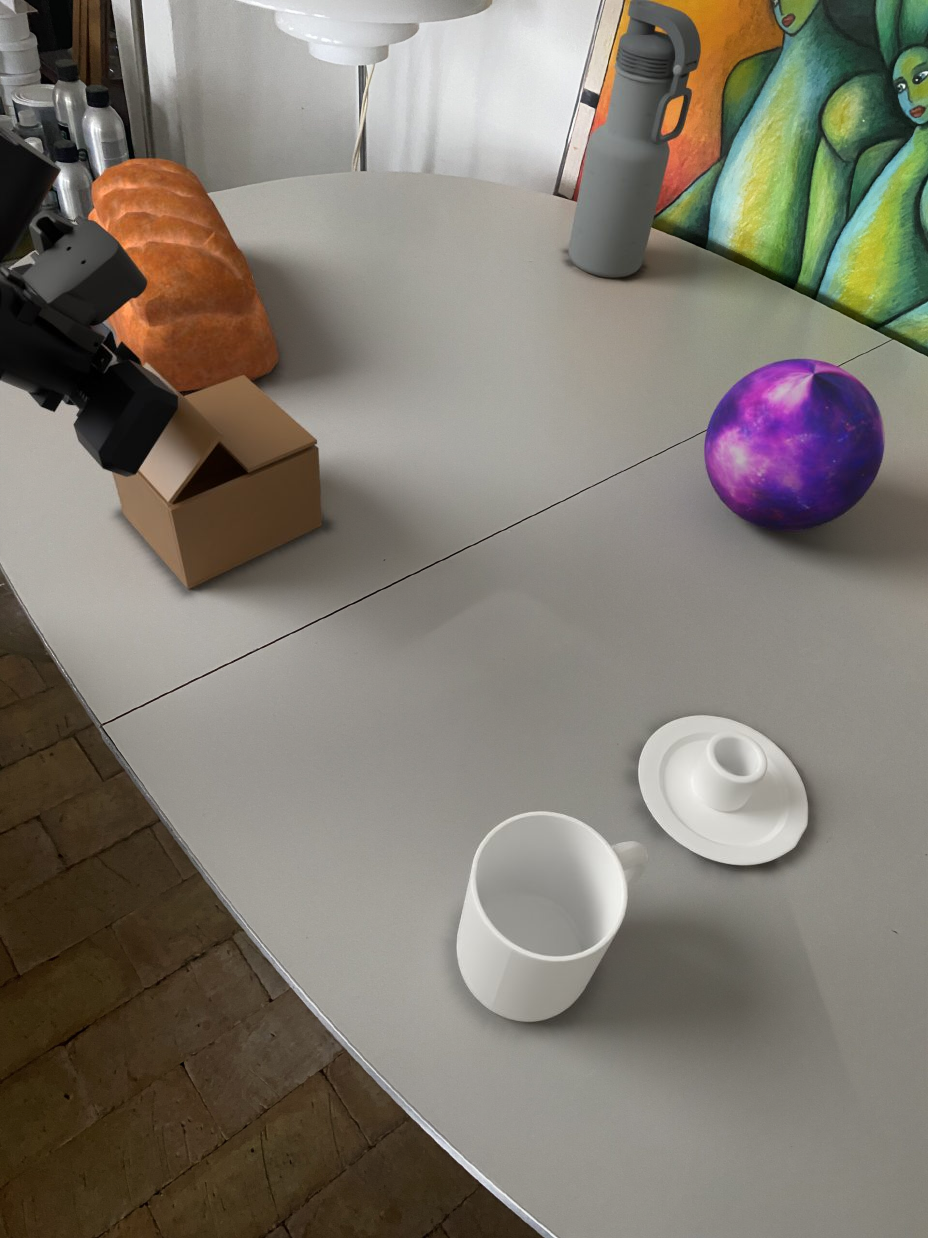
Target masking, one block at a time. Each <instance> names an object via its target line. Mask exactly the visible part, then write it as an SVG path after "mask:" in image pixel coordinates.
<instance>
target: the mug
mask: <svg viewBox="0 0 928 1238" xmlns="http://www.w3.org/2000/svg"><path fill="white" fill-rule="evenodd" d="M647 850H648V849H647V848H646V847H645V846H644V845H643V844H641V843H640V842H637V841H635V840H631V841H622V842H619V843H616V844H613V845H610V844H609V842H608V841H607V840H606V839H605V838H604V837H603V836H602V835H601V834H600V833H599V832H598V831H596V830H595V829H594V828H593V827H591V826H590V825H588V824H586V823H585V822H584V821H581V820H579V819H577V818H575V817H572V816H570V815H567V814H562V813H559V812H554V811H544V810H543V811H541V810H540V811H529V812H524V813H520V814H516V815H514V816H511V817H509V818H507V819H506V820H504V821H501V822H500V823H498V825H496V826H495V827H494V828H492V830H490V831H489V832H488V833H487V834H486V836H485V837H484V838H483V840H482V841H481V842H480V844H479V845H478V847H477V849H476V852H475V854H474V857H473V860H472V865H471V868H470V873H469V879H468V881H467V882H468V883H467V886H466V891H465V897H464V902H463V906H462V911H461V916H460V920H459V925H458V929H457V936H456V959H457V963H458V967H459V970H460V973H461V977H462V978H463V981H464V983H465V985H466V986H467V988H468V989H469V991H470V992H471V994H472V995H473V996H474V997H475V999H476V1000H478V1002H479V1003H480V1004H481V1005H483V1006H484V1007H485V1008H487V1010H490V1011H491V1012H493V1013H494V1014H496V1015H498V1016H500V1017H503V1018H505V1019H507V1020H511V1021H516V1022H524V1023H530V1022H531V1023H534V1022H540V1021H541V1022H542V1021H545V1020H548V1019H550V1018H554V1017H555V1016H558V1015H560V1014H562V1013H563V1012H564V1011H566V1010H567V1009H568V1008H570V1007H571V1006H572V1005H573V1004H574V1003H575V1002H576V1001H577V1000H578V999H579V997H580V996H581V995H582V994H583V992H584V991H585V989H586V987H587V986H588V984H589V982H590V981H591V979H592V977H593V975H594V973H595V972H596V970H597V968H598V966H599V964H600V963H601V961H602V959H603V957H604V956H605V955H606V952H607V951H608V949H609V947H610V945H611V944H612V942H613V940H614V938H615V936H616V935H617V933H618V931H619V929H620V927H621V926H622V924H623V921H624V918H625V916H626V912H627V907H628V897H629V893H628V892H629V891H630V890H631V888H633V887H634V886H635V884H636V883H637V882H638V880H639V879H640V878H641V877H642V875H643V874H644V873H645V870H646V869H647V866H648V863H649V853H648V851H647Z"/></svg>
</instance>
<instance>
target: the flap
mask: <svg viewBox="0 0 928 1238" xmlns="http://www.w3.org/2000/svg"><path fill="white" fill-rule="evenodd" d="M143 367H144V368H146V369H147V370H149V371H150V372H152V373H153V374H155V375H156V376H157V377H159V378H160V379H161V380H162V381H163V382H164V383H165V384H166V385H167V386H168V387H169V388H170V389H171V390H172V391H173V392H174V393H175V394H176V395H177V396H178V409H177V411H176V412H175V414H174V415H173V417H172V418H171V420H170V422H169V423H168V425H167V426H166V428H165V429H164V431H163V432H162V434H161V436H160V437H159V439H158V440H157V442H156V443H155V445H154V447H153V448H152V450H151V451H150V453H149V454H148V456H147V458H146V459H145V461H144V462H143V464H142V465H141V467H140V469H139V471H140V472H141V473H142V474H143V475H144V476H145V478H146V479H147V480H148V481H149V482H150V483H151V484H152V485H153V486H154V487H155V488H156V490H157V491H158V492H159V493H160V494H161V495H162V496H163V497H164V498H165V499H166V501H167V502H169V503H171V504H172V503H173V502H174V500H175V499H176V498H177V496H178V495H179V494H180V492H181V491H182V490H183V488H184V487H185V486H186V485H187V483H188V482H189V481H190V479H191V478H192V477H193V475H194V474H195V473H196V471H197V470H198V469H199V467H200V466H201V465H202V463H203V462H204V461H205V459H206V458H207V457H208V455H209V454H210V453H211V452H212V450H213V449H214V448H215V446H216V445H217V444H218V442H219V441H220V440H221V438H222V437H223V436H224V435H223V434H222V433H221V432H220V431H219V430H218V429H217V428H216V427H215V426H214V425H213V424H212V423H211V422H210V421H209V420H207V419H206V418H205V417H204V416H203V415H202V414H201V413H200V412H199V411H198V410H197V409H196V408H195V407H194V406H193V405H192V404H191V403H190V402H189V401H188V400H187V399H186V398H185V397H184V396H185V395H183V394H182V393H180V392H181V391H180V392H179V391H177V390H176V389H175V388H174V387H173V386H172V385H171V384H170V383H169V382H168V381H167V380H166V379H165V378H164V377H163V376H162V375H161V374H160V373H159V372H158V371H157V370H156V369H155V368H154V367H153V366H152V365H151V364H149V363H148V362H146V363H145V365H144V366H143Z"/></svg>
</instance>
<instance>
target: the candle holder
mask: <svg viewBox="0 0 928 1238" xmlns="http://www.w3.org/2000/svg"><path fill="white" fill-rule="evenodd" d="M637 768H638V770H637V771H638V772H637V773H638V774H637V775H638V783H639V784H638V785H639V789H640V792H641V795H642V798H643V800H644V802H645V803H644V804H645V805H646V807H647V809H648V810H649V812H650V813H651V815H652V817H653V818H654V819H655V821H656V822H657V823H658V824H659V826H660V827H661V828H662V829H663V830H664V831H665V833H667V834H668V835H669V836H670V837H671V838H672V839H673V840H674V841H676V842H677V843H678V844H680V845H681V846H683V847H685V848H686V849H687V850H689V851H691V852H693V853H695V854H696V855H699V856H701V857H703V858H706V859H708V860H711V861H714V862H717V863H722V864H725V865H733V866H754V865H760V864H764V863H768V862H771V861H774V860H775V859H778V858H780V857H782V856H783V855H786V854H787V853H789V852H790V851H791V850H793V849H795V848H796V846H797V845H798V843H799V841H800V839H801V838H802V836H803V834H804V832H805V831H806V829H807V826H808V824H809V823H808V822H809V821H808V820H809V819H808V818H809V804H808V796H807V792H806V788H805V785H804V782H803V779H802V778H801V776H800V774H799V772H798V770H797V768H796V767H795V765H794V764H793V762H792V761H791V759H790V758H789V757H788V755H786V754H785V752H784V751H783V750H782V749H780V747H779V746H778V745H777V744H775V743H774V741H772V740H771V739H769V737H767V736H765V735H764V734H762V733H761V732H759V731H757V730H756V729H754V728H752V727H750V726H748V725H746V724H744V723H741V722H738V721H736V720H733V719H730V718H726V717H723V716H715V715H705V714H704V715H703V714H702V715H701V714H700V715H689V716H684V717H680V718H676V719H673V720H671V721H669V722H668V723H665V724H664V725H662V726H660V727H659V728H658V729H657V730H655V732H654V733H652V735H651V736H650V737H649V738H648V740H647V741H646V742H645V744H644V746H643V748H642V750H641V753H640V756H639V761H638V767H637Z"/></svg>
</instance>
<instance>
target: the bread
mask: <svg viewBox="0 0 928 1238" xmlns="http://www.w3.org/2000/svg"><path fill="white" fill-rule="evenodd" d="M91 201H92V205H93V207H94V208H92V210H91V211H90V213H89V214H88V219H87V220H93V221H95V222H97V223H98V224H99V225H100V226H101V227H102V228H104V229H105V230H106V231H107V232H108V233H109V234H111V235H112V236H113V237H114V238H115V239H116V240H117V241H118V242H119V243H120V244H121V246H122V247H123V248H124V250H125V251H126V252H127V254H128V255H129V256H130V258H131V259H132V260H133V262H134V263H135V264H136V266H137V267H138V268H139V270H140V271H141V272H142V274H143V275H144V276H145V278H146V279H147V287H146V289H145V290H144V292H143V293H142V294H141V295H140V296H138V297H137V298H132V299H130V300H129V301H128V302H127V303H125V304H124V305H123V306H122V307H121V308H120V309H118V310H117V311H116V312H115V313H114V314H112V315H111V316H110V317H109V318H108V319H107V321H108V324H109V326H110V327H111V328H113V330H114V331H115V335H116V346H117V347H118V346H119V344H120V342H121V341H122V342H123V343H124V344H125V345H126V346H127V347H128V348H129V349H130V350H131V351H133V352H134V353H135V354H136V355H137V356H138V357H139V359H140V360H141V363H142V366H144V365H145V363H146V362H148V363H149V364H151V365H152V366H153V367H154V368H155V369H156V370H157V371H158V372H159V373H160V374H161V375H162V376H163V377H164V378H165V379H166V380H167V381H168V382H169V383H170V384H171V385H172V386H173V387H174V388H175V389H176V390H177V391H179V392H187V391H197V390H203V389H206V388H208V387H211V386H214V385H217V384H219V383H222V382H225V381H228V380H231V379H233V378H236V377H239V376H242V375H245V376H246V377H247V378H248V379H249V380H250V381H251V382H252V381H254V380H256V379H260V378H261V377H263V376H266V375H268V374H270V373H271V372H272V371H273V369H274V368H275V366H276V365H277V364H278V362H279V361H280V358H279V350H278V346H277V342H276V337H275V333H274V331H273V328H272V326H271V325H272V324H271V322H270V319H269V317H268V314H267V311H266V309H265V306H264V303H263V301H262V298H261V296H260V294H259V292H258V290H257V287H256V282H255V280H254V277H253V274H252V270H251V268H250V265H249V262H248V260H247V258H246V257H245V255H244V253H243V251H242V249H240V248H239V246H238V245H237V244H236V241H235V240H234V238H233V236H232V234H231V232H230V229H229V228H228V226H227V224H226V222H225V220H224V219H223V216H222V215H221V213H220V211H219V210H218V208H217V206H216V204H215V202H214V201H213V200H212V198H211V197H210V195H209V194H208V191H207V190H206V189H205V187H204V185H203V184H202V182H201V181H200V179H199V177H198V176H197V175H196V174H195V173H194V172H193V171H192V170H191V169H189V168H188V167H186V166H185V165H183V164H180V163H178V162H174V161H172V160H169V159H164V158H149V157H148V158H147V157H146V158H131V159H126V160H125V161H123V162H121V163H119V164H115V165H113V166H110V167H107V168H104V170H103V171H102V173H101V174H100V175H99V176H98V177H97V178H96V179H95V180H94V181H93V182H92V183H91Z"/></svg>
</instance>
